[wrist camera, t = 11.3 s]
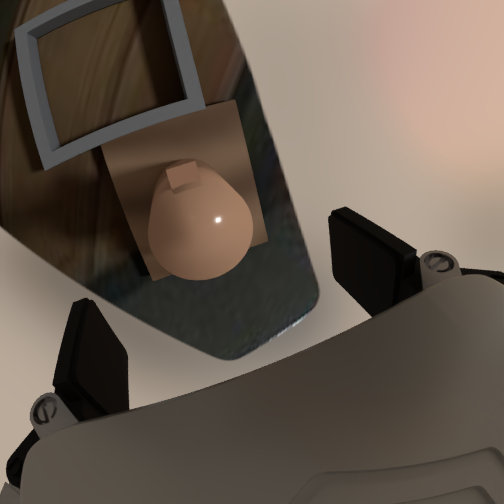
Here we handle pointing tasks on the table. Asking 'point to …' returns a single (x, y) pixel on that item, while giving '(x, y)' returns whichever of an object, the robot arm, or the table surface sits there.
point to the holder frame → (52, 154)
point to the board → (176, 148)
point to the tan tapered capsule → (197, 221)
